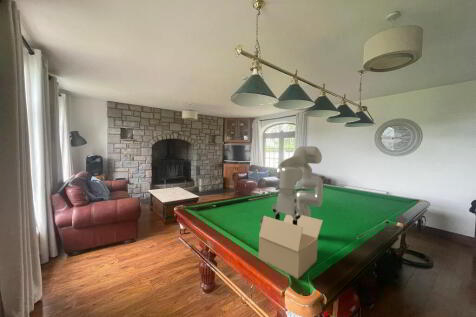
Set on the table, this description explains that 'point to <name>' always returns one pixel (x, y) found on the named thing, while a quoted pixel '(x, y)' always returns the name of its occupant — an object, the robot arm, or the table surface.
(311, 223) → the rear flap
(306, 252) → the carton
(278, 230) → the front flap
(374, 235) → the table surface
